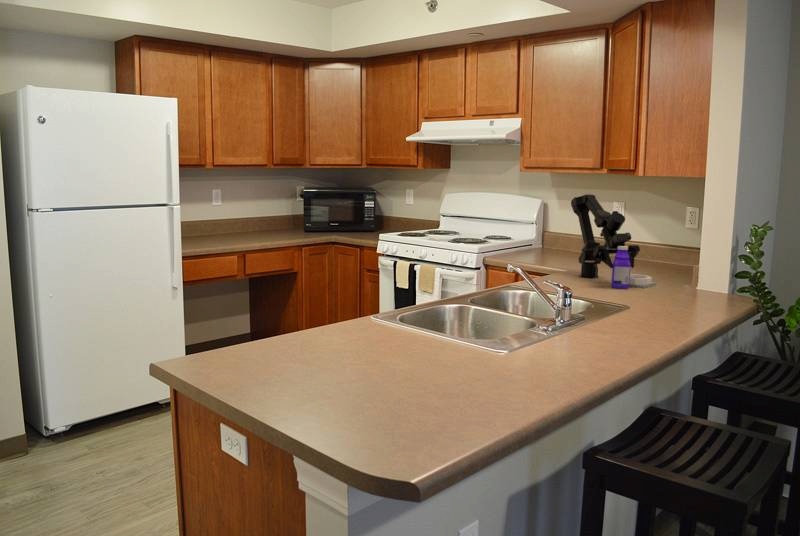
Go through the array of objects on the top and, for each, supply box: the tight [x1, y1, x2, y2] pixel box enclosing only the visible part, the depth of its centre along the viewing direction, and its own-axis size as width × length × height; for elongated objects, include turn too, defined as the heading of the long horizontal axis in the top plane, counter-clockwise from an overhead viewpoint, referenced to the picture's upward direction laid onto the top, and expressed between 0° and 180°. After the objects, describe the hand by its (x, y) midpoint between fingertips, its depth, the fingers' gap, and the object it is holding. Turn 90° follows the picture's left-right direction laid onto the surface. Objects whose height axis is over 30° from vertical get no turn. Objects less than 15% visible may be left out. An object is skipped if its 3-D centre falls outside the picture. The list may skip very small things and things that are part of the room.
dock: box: [628, 273, 657, 289], centre depth 287 cm, size 13×13×4 cm
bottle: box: [610, 245, 632, 290], centre depth 277 cm, size 7×6×17 cm
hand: (622, 267), depth 276 cm, fingers open, 9 cm apart
